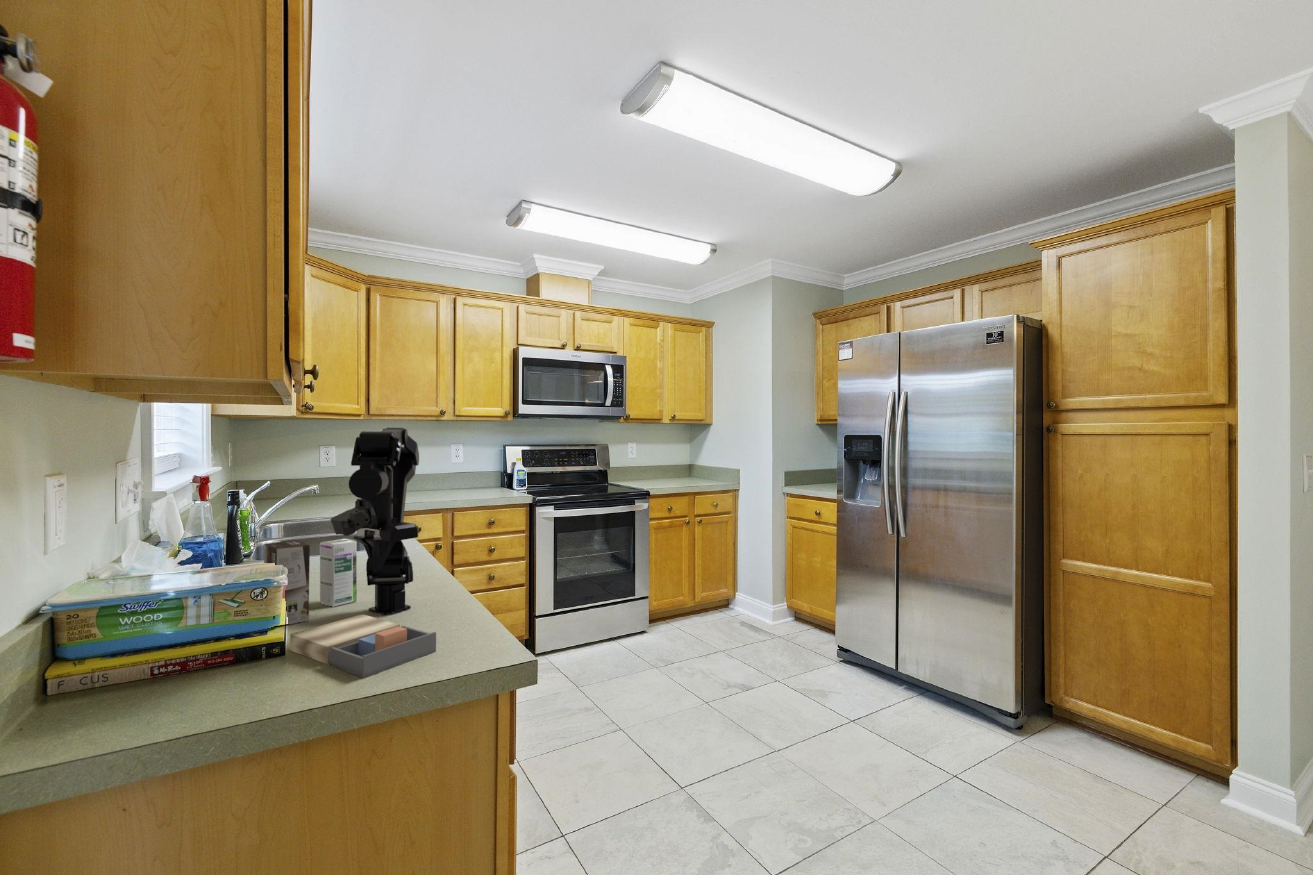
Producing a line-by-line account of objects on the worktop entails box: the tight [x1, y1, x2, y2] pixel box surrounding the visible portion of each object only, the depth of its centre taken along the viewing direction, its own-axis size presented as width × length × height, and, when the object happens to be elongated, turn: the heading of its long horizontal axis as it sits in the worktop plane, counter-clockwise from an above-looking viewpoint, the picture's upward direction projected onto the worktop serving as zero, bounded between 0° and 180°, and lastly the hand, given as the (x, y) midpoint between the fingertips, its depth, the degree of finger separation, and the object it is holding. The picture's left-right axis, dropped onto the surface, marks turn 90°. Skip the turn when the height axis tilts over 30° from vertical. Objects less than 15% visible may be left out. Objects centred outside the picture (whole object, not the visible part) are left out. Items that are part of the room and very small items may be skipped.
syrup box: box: [319, 538, 358, 608], centre depth 138 cm, size 6×6×14 cm
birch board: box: [289, 614, 401, 665], centre depth 111 cm, size 12×14×3 cm
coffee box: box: [263, 539, 311, 625], centre depth 125 cm, size 9×6×16 cm
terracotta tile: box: [375, 626, 407, 651], centre depth 104 cm, size 4×4×2 cm
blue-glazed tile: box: [358, 634, 375, 655], centre depth 106 cm, size 4×4×2 cm
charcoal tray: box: [328, 625, 437, 678], centre depth 105 cm, size 10×14×4 cm
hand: (376, 570), depth 119 cm, fingers closed
